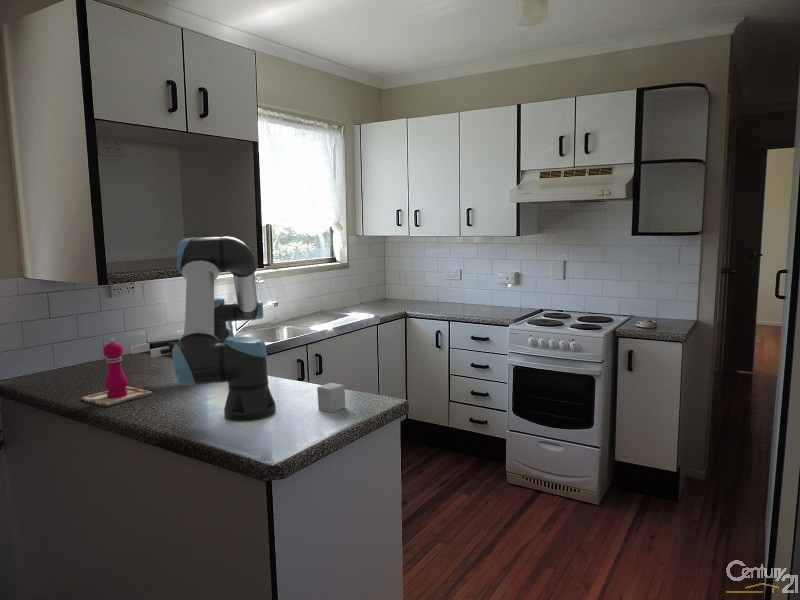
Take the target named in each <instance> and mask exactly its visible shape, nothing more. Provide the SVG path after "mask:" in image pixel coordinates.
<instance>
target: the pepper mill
mask: <svg viewBox="0 0 800 600" xmlns="http://www.w3.org/2000/svg"><path fill="white" fill-rule="evenodd" d="M123 350H124V349H123V346H122V345H121V344H120V343H117V342H116V339H114V338H110V339H109V341H108V343H107V344H105V346H104V347H103V350H102V352H103V355H104V356H105V357H106V358H105V363H107V369H108V370H107V374H106V377H105V380H104V388H105V389H106V391H108V392H107V397H108V398H121V397H124V396H126V395H127V389H125V388H126V386H129V385H128V384H129V381H128V378H127V376H126V375H125V373H124V371H123V369H122V361H123V359H122V358H123V357H122V354H123V353H124V351H123Z"/></svg>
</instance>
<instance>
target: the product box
mask: <svg viewBox="0 0 800 600" xmlns="http://www.w3.org/2000/svg"><path fill="white" fill-rule="evenodd" d="M316 390H317V391H316V392H317V405H318V410H319V411H322V410H323V411H322V412H328V413H331V412H333V413H335V411H336V412H338V411H340V409H341V410H344V409H346V408H345V407H346V390H345V384H339V383H333V382H328V383H325V384H323V385H319V386H317V388H316ZM343 408H344V409H343ZM337 410H338V411H337Z"/></svg>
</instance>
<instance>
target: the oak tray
mask: <svg viewBox="0 0 800 600" xmlns="http://www.w3.org/2000/svg"><path fill="white" fill-rule="evenodd" d="M125 389H127V395H126V396H124V397H121V398H108V397H107V392H108V390H105V391H101V392H97V393H93V394H90V395H85V396H82V397H81V401H82V400H84V401H83V402H86V401H88V402H87V403H89V402H92V403H91V404H93V403H95V405H97V404H99V405H98V406H101V405H103V406H102V407H105V406H110V407H112V406H111V405H114V406H116V405H115V404H117V405H120V404H119V403H121V404H124V403H123V402H125V403H127V402H126V401H128V402H131V401H130V400H132V401H135V400H134V399H136V400H139V399H143V398H146V396H147V397H150V396H153V391H151V390H145V389H143V388H142V389H141V388H136V387H131V386H129V385H127V386H126V388H125ZM142 397H143V398H142ZM138 398H139V399H138Z"/></svg>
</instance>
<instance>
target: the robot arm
mask: <svg viewBox="0 0 800 600" xmlns="http://www.w3.org/2000/svg"><path fill="white" fill-rule="evenodd" d="M176 267H177V270H178V272H179V273H180V274H182V277H183V278H184V279H185V280H186V283H185V284H186V285H185V286H186V287H185V289H186V290H185V310H184V311H185V312H184V334H183V335H182V336H181V337H180V338H176V339H169V340H167V339H165V340H159V341H150V342H149V341H147V342H146V343H142V344H137V345H131V347H130V349H131V354H132V355H134V354H139V353H145V352H148V353H150V357H151V358H157V357H162V356H167V355H172V363H173V368H174V373H175V377H176V380H177V382H178V384H179V385H181V386H196V385H197V386H198V385H199V386H200V385H208V384H209V385H210V384H218V383H219V384H220V383H227V384H228V393H227V395H226V397H227V398H226V399H225V400H226V401H225V404H224V411H223V412H224V413H223V415H224V418H225V419H226V420H229V421H233V422H249V421H256V420H261V419H265V418H268V417H271V416H272V415H275V413H276V412H277V409H276V408H277V407H276V402H275V399H274V397H273V394H272V392H271V389H270V387H269V376H268V362H267V357H268V353H267V349H266V343H265V342H264V341H263V340H262V339H260V338H257V337H254V336H253V337H251V336H235V335H234V332H233V329H232V328H231V327H230V326H227V322H239V321H255V320H261V319H263V318H264V305H263V304H264V303H263V301H262V300H258V295H257V293H258V292H257V283H256V274H255V272H256V271H257V268H258V265H257V257H256V255H255V253H254V251H253V250H252V249H251V248H250V247H249V246H248V245H247V244H246V243H245V242H244V241H242V240H240V239H238V238H236V237H233V236H211V237H210V236H207V237H205V236H204V237H195V236H193V237H189V238H187V237H186V238H183V239H182V240H180V242H179V243H178V246H177V251H176ZM220 272H230V273H231V274H232V275H233V276H232V278H233V283H234V290H235V296H236V301H225V298H223V297H215V280H217V279H218V277H219V276H220Z"/></svg>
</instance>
